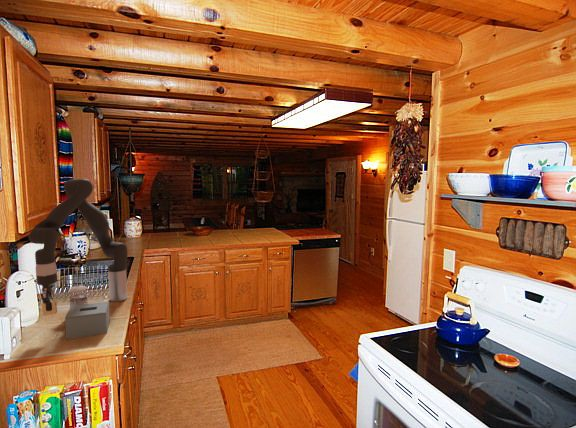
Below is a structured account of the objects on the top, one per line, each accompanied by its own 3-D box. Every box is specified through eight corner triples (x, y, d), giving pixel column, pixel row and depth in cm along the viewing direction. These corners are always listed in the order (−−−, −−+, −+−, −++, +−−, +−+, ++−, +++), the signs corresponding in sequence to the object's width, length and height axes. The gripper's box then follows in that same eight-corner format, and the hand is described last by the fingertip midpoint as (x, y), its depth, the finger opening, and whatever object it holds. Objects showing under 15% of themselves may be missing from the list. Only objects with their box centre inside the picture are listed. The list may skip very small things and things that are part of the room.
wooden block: (43, 313, 155) (42, 300, 154) (57, 311, 157) (56, 299, 156) (42, 315, 153) (41, 302, 152) (56, 313, 155) (55, 300, 154)
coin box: (72, 325, 166) (71, 305, 165) (109, 320, 172) (108, 301, 171) (66, 338, 153) (65, 317, 152) (107, 333, 159) (105, 312, 158)
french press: (91, 309, 184) (89, 264, 181) (88, 318, 174) (85, 270, 171) (70, 312, 181) (67, 265, 177) (65, 321, 170) (62, 272, 167)
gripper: (40, 268, 157) (43, 305, 159) (31, 278, 144) (35, 317, 147) (60, 267, 160) (62, 303, 162) (52, 276, 147) (56, 314, 150)
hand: (49, 309), depth 154 cm, fingers closed on wooden block, 1 cm apart
